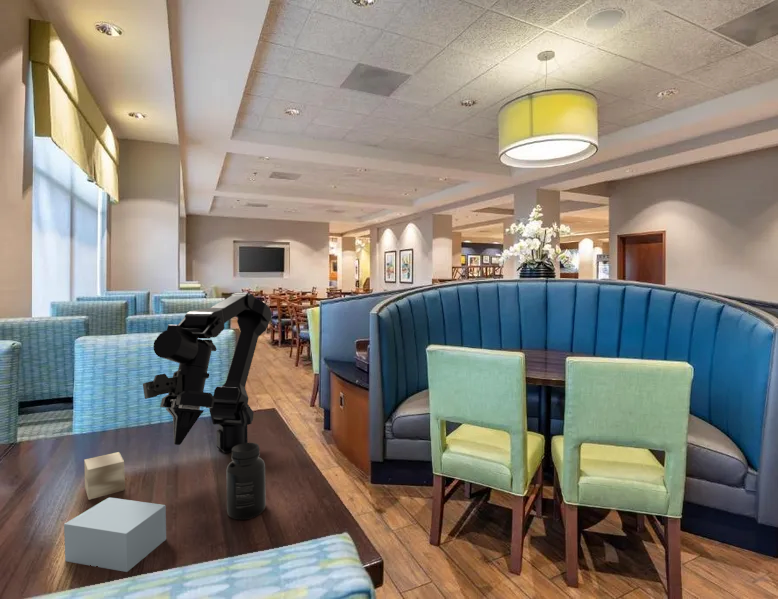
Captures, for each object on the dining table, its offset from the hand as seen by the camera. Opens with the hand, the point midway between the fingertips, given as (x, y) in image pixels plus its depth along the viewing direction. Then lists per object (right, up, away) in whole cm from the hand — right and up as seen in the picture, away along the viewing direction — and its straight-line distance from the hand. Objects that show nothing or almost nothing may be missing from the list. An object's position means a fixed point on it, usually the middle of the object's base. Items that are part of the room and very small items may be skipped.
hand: (177, 444), depth 86 cm
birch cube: (-15, -9, +1) cm, 18 cm away
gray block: (+1, -7, -15) cm, 17 cm away
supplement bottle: (+16, -10, -7) cm, 20 cm away
